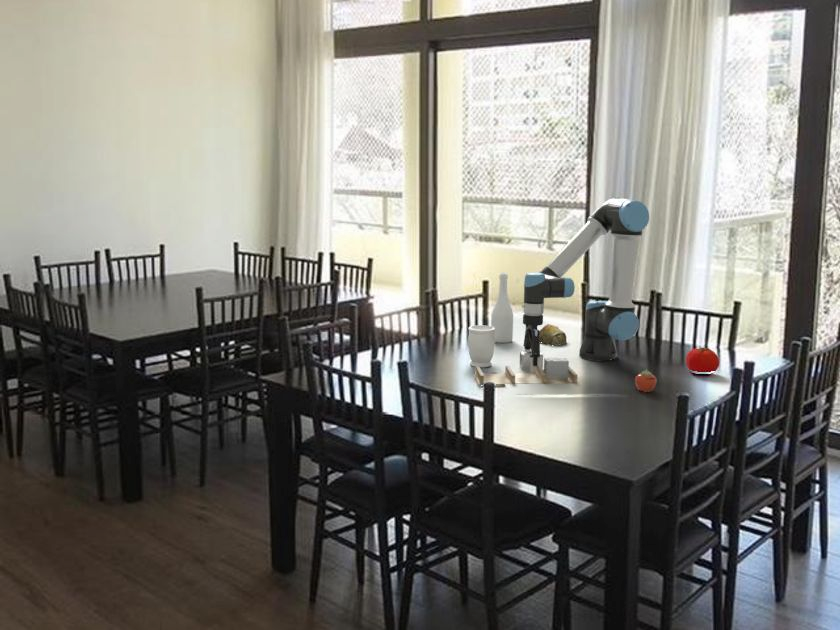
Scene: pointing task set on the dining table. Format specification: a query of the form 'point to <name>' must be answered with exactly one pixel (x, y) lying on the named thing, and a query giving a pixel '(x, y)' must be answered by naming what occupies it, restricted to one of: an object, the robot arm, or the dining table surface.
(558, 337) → the pastry
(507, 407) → the dining table surface
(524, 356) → the white rectangular block
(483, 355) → the jar
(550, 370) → the panel
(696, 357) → the tomato
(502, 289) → the wine bottle
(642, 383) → the tomato
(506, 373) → the rack
